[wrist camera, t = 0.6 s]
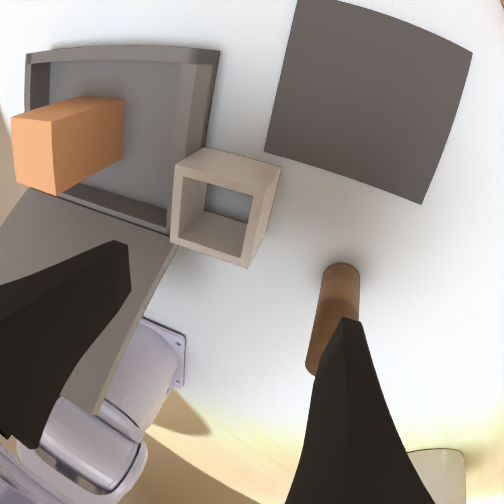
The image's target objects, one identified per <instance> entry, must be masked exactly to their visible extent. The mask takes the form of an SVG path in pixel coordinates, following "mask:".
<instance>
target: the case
mask: <svg viewBox="0 0 504 504" xmlns="http://www.w3.org/2000/svg"><path fill="white" fill-rule="evenodd" d="M219 55H220V51H215V50H206V49H196V48H184V47H169V46H141V45H120V46H92V47H78V48H67V49H57V50H49V51H42V52H36V53H29V54H26V62H25V90H24V105H25V112H28V111H31V110H34V109H37V108H40V107H43V106H46V105H50V104H53V103H57V102H60V101H64V100H67V99H71V98H75V97H79V96H89V97H101V98H112V99H122V100H125V107H124V124H123V148H122V160H120V161H118V162H116V163H114V164H112V165H110V166H108V167H106V168H105V169H103V170H101V171H99V172H97V173H95V174H94V175H92V176H90V177H88V178H86V179H85V180H83V181H81V182H79V183H78V184H76V185H74V186H72V187H71V188H69V189H67V190H66V191H64V192H62V193H61V194H59V195H57V196H54V195H52V194H49V193H46V192H43V191H40V190H38V189H35V188H32V187H31V188H28V190H27V191H26V192H25V193H24V195H23V196H22V198H21V199H20V200H19V201H18V203H17V204H16V205H15V207H14V208H13V210H12V211H11V212H10V214H9V215H8V217H7V218H6V220H5V221H4V223H3V224H2V226H1V227H0V285H2V284H5V283H8V282H11V281H14V280H17V279H20V278H23V277H26V276H28V275H31V274H34V273H36V272H38V271H41V270H43V269H46V268H48V267H50V266H53V265H55V264H58V263H60V262H62V261H64V260H67V259H69V258H71V257H73V256H76V255H78V254H80V253H83V252H85V251H87V250H89V249H92V248H94V247H96V246H99V245H101V244H104V243H106V242H109V241H112V240H116V241H119V242H121V243H124V244H127V245H128V252H129V265H130V276H131V287H132V291H131V292H130V294H129V295H128V297H127V299H126V300H125V302H124V304H123V305H122V307H121V308H120V310H119V311H118V313H117V314H116V315H115V317H114V318H113V319H112V320H111V322H110V323H109V324H108V325H107V327H106V328H105V329H104V330H103V332H102V333H101V334H100V335H99V336H98V338H97V339H96V340H95V341H94V343H93V344H92V345H91V346H90V348H89V349H88V350H87V351H86V353H85V354H84V355H83V356H82V358H81V359H80V361H79V362H78V363H77V365H76V367H75V368H74V370H73V372H72V373H71V375H70V377H69V378H68V380H67V382H66V383H65V385H64V387H63V389H62V391H61V393H60V395H61V396H63V397H64V398H66V399H67V400H69V401H70V402H72V403H73V404H75V405H76V406H78V407H80V408H81V409H83V410H84V411H86V412H87V413H89V414H91V415H98V413H99V410H100V408H101V406H102V403H103V401H104V399H105V396H106V394H107V392H108V389H109V387H110V385H111V382H112V380H113V378H114V376H115V374H116V371H117V369H118V367H119V365H120V362H121V360H122V358H123V356H124V354H125V352H126V349H127V347H128V345H129V343H130V341H131V339H132V337H133V335H134V333H135V330H136V328H137V326H138V324H139V322H140V320H141V318H142V316H143V314H144V312H145V310H146V308H147V306H148V304H149V302H150V300H151V298H152V296H153V294H154V292H155V290H156V288H157V286H158V284H159V282H160V280H161V278H162V277H163V275H164V273H165V271H166V269H167V267H168V265H169V263H170V261H171V259H172V258H173V256H174V254H175V252H176V250H177V248H178V245H180V246H182V247H185V248H188V249H191V250H194V251H197V252H200V253H203V254H206V255H208V256H211V257H214V258H217V259H220V260H223V261H226V262H229V263H232V264H235V265H238V266H241V267H244V268H246V269H248V267H249V265H250V264H251V262H252V260H253V258H254V256H255V254H256V252H257V250H258V248H259V246H260V244H261V242H262V241H263V239H264V237H265V233H266V229H267V225H268V221H269V217H270V213H271V209H272V205H273V201H274V197H275V192H276V188H277V184H278V180H279V176H280V172H281V168H282V167H279V166H275V165H272V164H268V163H265V162H261V161H257V160H254V159H250V158H246V157H243V156H239V155H235V154H231V153H227V152H223V151H219V150H215V149H211V148H207V147H205V141H206V134H207V127H208V120H209V114H210V108H211V101H212V95H213V89H214V83H215V77H216V72H217V66H218V61H219ZM208 183H209V184H213V185H216V186H220V187H223V188H227V189H230V190H234V191H237V192H240V193H244V194H247V195H251V196H253V200H252V205H251V210H250V214H249V219H248V224H246V223H243V222H240V221H237V220H234V219H230V218H227V217H224V216H221V215H218V214H214V213H211V212H208V211H205V210H204V207H205V199H206V192H207V184H208Z"/></svg>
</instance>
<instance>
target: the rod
mask: <svg viewBox="0 0 504 504" xmlns="http://www.w3.org/2000/svg"><path fill="white" fill-rule="evenodd" d="M359 297H360V275H359V273H358V271H357V270H356V269H355V268H354V267H353V266H351V265H349V264H346V263H336V264H333V265H331V266H329V267H328V268H327V269H326V270H325V271H324V274H323V278H322V284H321V289H320V294H319V300H318V305H317V310H316V315H315V320H314V325H313V329H312V334H311V339H310V343H309V348H308V352H307V357H306V361H305V366H306V369H307V370H308V371H309V373H311V374H312V375H313V376H316V372H317V368H318V365H319V361H320V357H321V355H322V353H323V351H324V350H325V348H326V346H327V344H328V342H329V341H330V339H331V337H332V335H333V333H334V331H335V329H336V327H337V326H338V324H339V322H340V320H341V318H342V317H346V318H349V319H352V320H356V321H359Z"/></svg>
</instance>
